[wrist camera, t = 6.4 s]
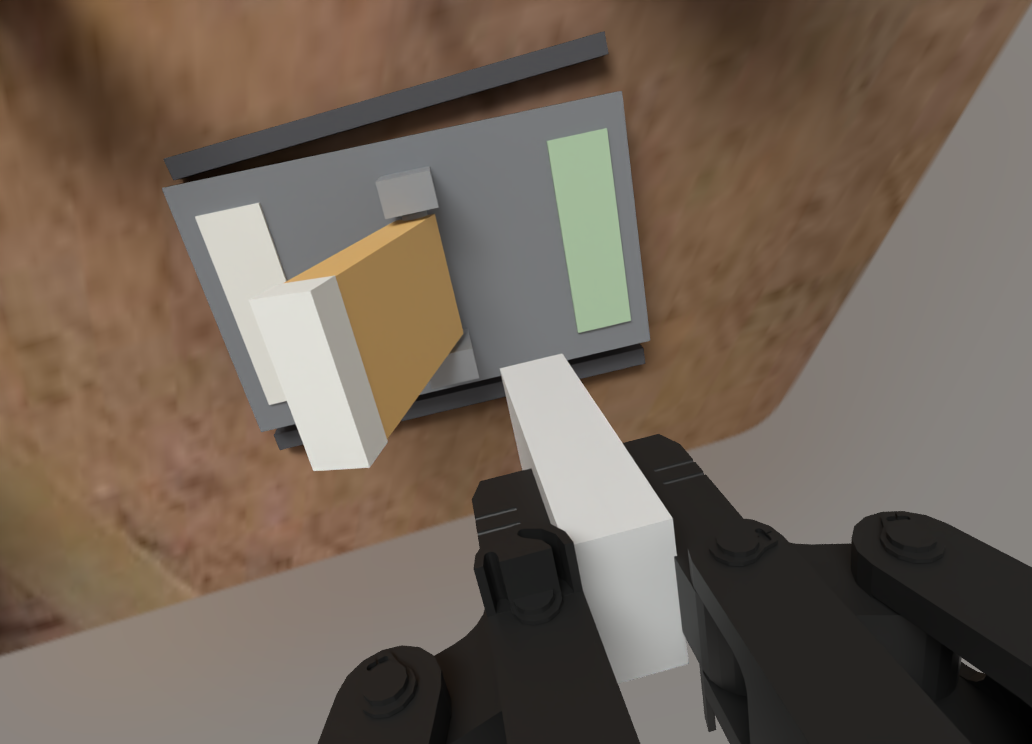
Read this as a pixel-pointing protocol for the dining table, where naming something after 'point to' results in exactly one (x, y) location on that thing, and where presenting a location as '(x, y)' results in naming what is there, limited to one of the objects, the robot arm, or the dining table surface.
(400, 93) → the dark grey bar
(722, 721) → the robot arm
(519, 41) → the dining table surface
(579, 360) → the dark grey edge strip
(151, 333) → the dining table surface
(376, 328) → the breaker lever
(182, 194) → the panel
